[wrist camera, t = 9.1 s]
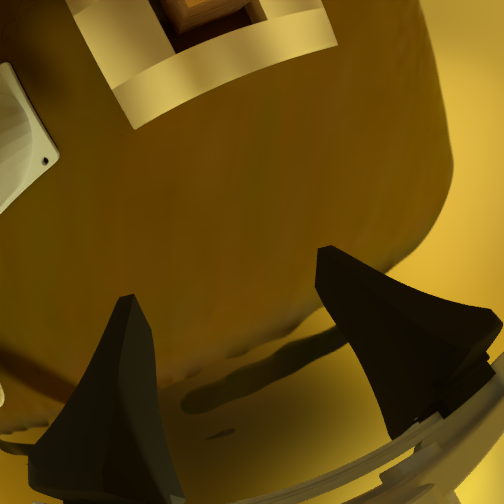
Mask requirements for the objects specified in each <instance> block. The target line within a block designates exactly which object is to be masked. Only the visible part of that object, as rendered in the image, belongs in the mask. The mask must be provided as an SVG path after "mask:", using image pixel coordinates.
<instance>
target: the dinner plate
mask: <svg viewBox="0 0 504 504" xmlns="http://www.w3.org/2000/svg"><path fill="white" fill-rule="evenodd" d="M3 402H4V392H3V388H2V386H1V383H0V407H1V406H2V404H3Z"/></svg>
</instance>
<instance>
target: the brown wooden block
mask: <svg viewBox="0 0 504 504" xmlns="http://www.w3.org/2000/svg"><path fill="white" fill-rule="evenodd" d="M250 1H251V0H159V2H160V4H161V6H162V8H163V9H164V11H165V13H166V15H167V17H168V19H169V21H170V22H171V24H172V26H173V28H174V30H175V32H176V34H177V36H179V35H181V34H183V33H186V32H188V31H190V30H193V29H195V28H197V27H200V26H202V25H205V24H207V23H210V22H212V21H215V20H218V19H221V18H223V17H226V16H229V15H232V14H234V13H236V12H237V11H238V10H239V9H241V8H242V7H243V6H245V5H246V4H247V3H248V2H250Z"/></svg>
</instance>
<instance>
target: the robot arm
mask: <svg viewBox="0 0 504 504" xmlns="http://www.w3.org/2000/svg"><path fill="white" fill-rule="evenodd" d="M44 157H46V158H48V160H49V162H48V164H46V163H45V162H44ZM58 159H59V151H58V149H57V148H56V146H55V144H54V143H53V141H52V139H51V138H50V136H49V135H48V133H47V131H46V130H45V128H44V126H43V124H42V123H41V121H40V119H39V118H38V116H37V114H36V112H35V110H34V109H33V107H32V105H31V103H30V101H29V100H28V98H27V96H26V94H25V92H24V90H23V88H22V86H21V84H20V82H19V80H18V78H17V76H16V74H15V72H14V70H13V68H12V66H11V64H10V63H8V62H5V63H2V64H1V65H0V214H1V213H2V212H3V211H4V210H5V209H6V208H7V206H8V205H9V204H10V203H11V202H12V201H13V200H14V199H15V198H16V197H17V196H18V195H20V194H21V193H22V192H23V191H24V190H25V189H26V188H27V187H28V186H29V185H30V184H31V183H32V182H33V181H34V180H36V179H37V178H38V177H39V176H40V175H41V174H42V173H44V172H45V171H46V170H47V169H48V168H49V167H51V166H52V165H53V164H54V163H55V162H56V161H57V160H58ZM315 288H316V290H317V293H318V295H319V297H320V299H321V301H322V303H323V305H324V307H325V308H326V310H327V311H328V312H329V314H330V316H331V317H332V319H333V320H334V322H335V323H336V325H337V326H338V328H339V329H340V331H341V332H342V334H343V335H344V337H345V338H346V339H347V341H348V342H349V344H350V345H351V347H352V349H353V350H354V352H355V354H356V356H357V357H358V359H359V361H360V363H361V365H362V367H363V369H364V372H365V374H366V376H367V378H368V380H369V383H370V385H371V387H372V389H373V392H374V394H375V397H376V399H377V402H378V404H379V407H380V410H381V413H382V415H383V418H384V421H385V424H386V428H387V431H388V434H389V436H390V438H391V439H392V441H391V442H389V443H387V444H386V445H384V446H382V447H381V448H378V449H376V450H375V451H373V452H371V453H369V454H367V455H365V456H363V457H361V458H359V459H357V460H355V461H353V462H351V463H348V464H346V465H344V466H342V467H340V468H337V469H335V470H333V471H331V472H328V473H326V474H324V475H321V476H318V477H316V478H313V479H311V480H308V481H305V482H303V483H300V484H297V485H294V486H291V487H288V488H285V489H282V490H278V491H275V492H272V493H268V494H265V495H262V496H258V497H253V498H250V499H245V500H241V501H237V502H232V503H227V504H297V503H300V502H303V501H305V500H308V499H311V498H314V497H316V496H319V495H321V494H324V493H326V492H329V491H331V490H333V489H335V488H338V487H340V486H343V485H345V484H347V483H349V482H351V481H353V480H355V479H357V478H359V477H361V476H363V475H365V474H367V473H369V472H371V471H373V470H375V469H377V468H379V467H380V466H382V465H384V464H386V463H387V462H389V461H391V460H393V459H394V458H396V457H398V456H400V455H401V454H403V453H404V452H406V451H407V450H409V449H411V448H412V447H414V446H415V445H416V446H415V448H414V453H413V454H412V455H411V456H409V457H408V458H406V459H404V460H403V461H401V462H400V463H398V464H396V465H395V466H393V467H391V468H389V469H388V470H386V471H384V472H382V473H381V474H380V475H379V477H380V479H381V481H382V483H383V484H381V485H379V486H377V487H375V488H374V489H372V490H370V491H368V492H366V493H364V494H362V495H359V496H358V497H355V498H353V499H351V500H349V501H347V502H344V503H342V504H461V503H460V501H459V499H458V497H457V496H456V494H455V492H454V490H455V489H456V488H457V487H458V486H459V485H460V484H461V483H462V482H463V481H464V480H465V478H466V477H467V476H468V475H469V474H470V473H471V472H472V471H473V470H474V469H475V468H476V467H477V465H478V464H479V463H480V462H481V461H482V459H483V458H484V457H485V456H486V455H487V453H488V452H489V451H490V450H491V448H492V447H493V446H494V445H495V444H496V442H497V441H498V440H499V438H500V437H501V436H502V434H503V433H504V352H503V353H502V354H501V355H500V356H499V357H498V358H497V359H496V360H495V361H494V362H493V363H492V364H491V365H490V364H489V363H488V362H487V360H489V358H490V357H489V355H488V354H487V352H486V351H487V349H488V348H489V347H490V345H491V344H492V343H493V341H494V340H495V339H496V337H497V336H498V334H499V333H500V331H501V329H502V327H503V322H502V321H501V320H500V319H499V318H498V317H497V315H496V314H495V313H494V312H493V311H492V310H491V309H488V308H481V307H475V306H469V305H465V304H460V303H456V302H452V301H449V300H445V299H442V298H439V297H436V296H433V295H430V294H427V293H424V292H421V291H419V290H417V289H414V288H412V287H410V286H407V285H405V284H403V283H400V282H398V281H396V280H394V279H392V278H390V277H388V276H386V275H385V274H383V273H381V272H379V271H377V270H375V269H373V268H372V267H370V266H368V265H366V264H364V263H363V262H361V261H359V260H357V259H356V258H354V257H352V256H350V255H349V254H347V253H345V252H343V251H341V250H340V249H338V248H336V247H334V246H332V245H330V246H326V247H322V248H318V253H317V266H316V278H315ZM28 481H29V482H28V483H29V486H30V487H31V488H32V489H33V490H35V491H37V492H40V493H42V494H45V495H48V496H51V497H54V498H57V499H60V500H63V504H183V503H184V502H185V500H186V498H185V496H184V493H183V491H182V488H181V486H180V483H179V480H178V478H177V475H176V472H175V469H174V466H173V463H172V460H171V456H170V453H169V449H168V446H167V442H166V438H165V434H164V430H163V426H162V421H161V417H160V413H159V405H158V395H157V380H156V364H155V351H154V344H153V338H152V332H151V328H150V326H149V324H148V322H147V320H146V318H145V316H144V314H143V312H142V310H141V308H140V306H139V303H138V301H137V299H136V297H135V295H134V294H131V295H127V296H123V297H119V299H118V301H117V303H116V305H115V308H114V310H113V312H112V315H111V317H110V319H109V322H108V324H107V326H106V329H105V331H104V333H103V335H102V338H101V340H100V342H99V345H98V347H97V349H96V351H95V353H94V355H93V357H92V359H91V361H90V363H89V365H88V367H87V369H86V371H85V373H84V375H83V377H82V379H81V380H80V382H79V384H78V386H77V388H76V389H75V391H74V392H73V394H72V395H71V397H70V399H69V400H68V402H67V403H66V405H65V406H64V408H63V409H62V411H61V412H60V414H59V415H58V416H57V418H56V419H55V421H54V422H53V423H52V424H51V426H50V427H49V428H48V430H47V431H46V432H45V433H44V434H43V436H42V437H41V438H40V439H39V440H38V441H37V442H36V444H35V445H34V446H33V447H32V448H31V449H30V450H29V451H28ZM33 504H46V503H41V502H36V501H34V502H33Z"/></svg>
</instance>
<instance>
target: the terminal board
mask: <svg viewBox="0 0 504 504" xmlns="http://www.w3.org/2000/svg"><path fill="white" fill-rule="evenodd" d="M65 1H66V3H67V5H68V7H69V9H70V11H71V13H72V15H73V17H74V19H75V21H76V23H77V25H78V27H79V29H80V31H81V33H82V35H83V37H84V39H85V41H86V43H87V45H88V47H89V49H90V50H91V52H92V54H93V56H94V58H95V60H96V62H97V64H98V66H99V67H100V69H101V71H102V73H103V75H104V77H105V78H106V80H107V82H108V84H109V86H110V88H111V89H112V91H113V93H114V95H115V97H116V98H117V100H118V102H119V104H120V105H121V107H122V109H123V111H124V113H125V114H126V116H127V118H128V120H129V121H130V123H131V125H132V127H133V128H134V130H135V129H137V128H138V127H140V126H142V125H143V124H145V123H147V122H149V121H150V120H152V119H154V118H156V117H157V116H159V115H161V114H163V113H165V112H166V111H168V110H170V109H172V108H174V107H176V106H178V105H180V104H182V103H184V102H186V101H188V100H190V99H192V98H194V97H196V96H198V95H200V94H202V93H204V92H206V91H208V90H210V89H213V88H215V87H217V86H219V85H222V84H224V83H226V82H229V81H231V80H233V79H236V78H238V77H241V76H243V75H246V74H248V73H251V72H253V71H256V70H259V69H261V68H264V67H267V66H270V65H273V64H275V63H278V62H281V61H284V60H287V59H290V58H294V57H297V56H300V55H303V54H307V53H310V52H314V51H318V50H321V49H325V48H329V47H333V46H337V45H338V44H337V41H336V38H335V35H334V33H333V30H332V27H331V25H330V22H329V19H328V17H327V14H326V12H325V9H324V7H323V5H322V2H321V0H251V1H250V2H248V3H247V4H246V5H245V6H244V7H245V10H246V12H247V14H248V16H249V18H250V20H251V22H252V24H253V25H250V26H247V27H244V28H241V29H238V30H235V31H232V32H229V33H226V34H223V35H221V36H218V37H216V38H213V39H210V40H208V41H205V42H203V43H201V44H198V45H196V46H194V47H191V48H189V49H187V50H185V51H182V52H180V53H178V54H175V52H174V50H173V48H172V46H171V44H170V42H169V40H168V38H167V36H166V34H165V32H164V30H163V28H162V26H161V25H160V23H159V21H158V19H157V17H156V15H155V13H154V11H153V9H152V7H151V5H150V4H149V2H148V0H65Z"/></svg>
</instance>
